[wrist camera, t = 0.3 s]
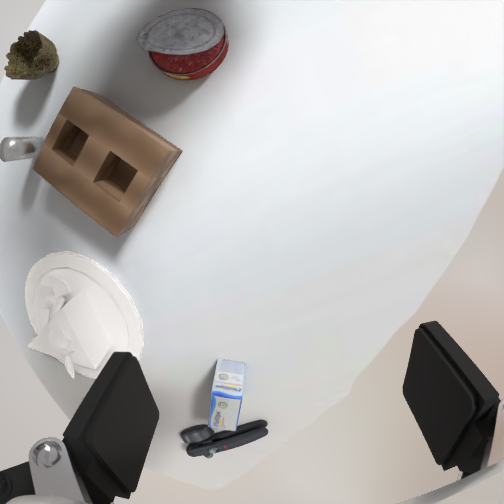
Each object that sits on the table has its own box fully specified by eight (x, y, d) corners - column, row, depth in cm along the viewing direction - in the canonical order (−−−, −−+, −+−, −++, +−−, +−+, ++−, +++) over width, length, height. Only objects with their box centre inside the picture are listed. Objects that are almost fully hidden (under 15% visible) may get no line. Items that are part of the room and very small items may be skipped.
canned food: (163, 59, 36) (122, 22, 27) (222, 23, 33) (190, -22, 24) (181, 108, 34) (132, 67, 24) (252, 66, 31) (217, 12, 22)
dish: (107, 231, 40) (64, 257, 29) (168, 370, 47) (150, 417, 36) (11, 268, 42) (-28, 292, 31) (67, 378, 50) (43, 413, 39)
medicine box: (239, 394, 48) (236, 432, 40) (213, 391, 48) (207, 428, 40) (245, 361, 46) (243, 399, 37) (217, 357, 46) (210, 395, 37)
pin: (43, 132, 35) (4, 133, 26) (55, 142, 35) (16, 144, 27) (35, 151, 35) (-4, 154, 27) (46, 160, 36) (7, 166, 27)
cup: (66, 80, 32) (34, 71, 25) (33, 90, 32) (0, 85, 25) (73, 37, 30) (44, 22, 22) (39, 49, 30) (9, 39, 22)
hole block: (96, 93, 33) (73, 86, 27) (182, 151, 36) (169, 150, 30) (57, 165, 36) (32, 168, 31) (134, 225, 39) (116, 237, 33)
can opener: (195, 444, 54) (191, 464, 48) (178, 425, 52) (173, 446, 47) (274, 429, 51) (275, 451, 46) (261, 409, 50) (261, 432, 44)
